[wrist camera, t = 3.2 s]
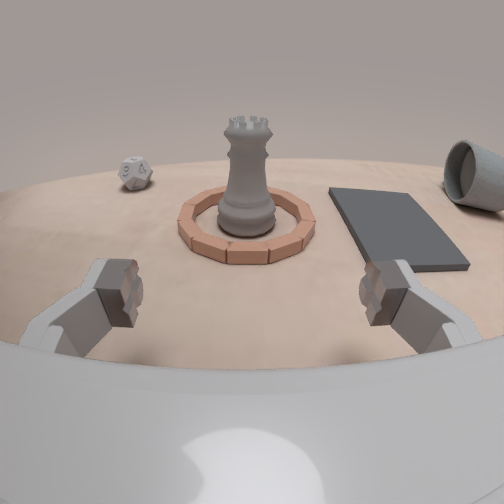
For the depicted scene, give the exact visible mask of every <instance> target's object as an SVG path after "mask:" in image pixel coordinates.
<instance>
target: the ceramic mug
mask: <svg viewBox="0 0 504 504" xmlns="http://www.w3.org/2000/svg"><path fill="white" fill-rule="evenodd" d="M444 186H445V191H446V193H447V195H448V197H449V199H450V200H451V201H453V202H454V203H457V204H462V205H466V206H470V207H475V208H480V209H484V210H487V211H502V210H504V158H503V157H501V156H499V155H497V154H495V153H493V152H490V151H489V150H487V149H484V148H483V147H480V146H478V145H476V144H474V143H472V142H470V141H467V140H461V141H459V142H457V143H456V144H455V145H454V146H453V147H452V149H451V150H450V152H449V154H448V157H447V160H446V163H445V169H444Z"/></svg>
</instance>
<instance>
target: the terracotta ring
mask: <svg viewBox="0 0 504 504" xmlns="http://www.w3.org/2000/svg"><path fill="white" fill-rule="evenodd" d="M226 188H227V186H224V187H219V188H215V189H211V190H206V191H204V192H201V193H199V194H198V195H196V196H195V197H193V198H191V199H190V200H188V201H187V202H185V203H184V204H183V206H182V208H181V211H180V214H179V217H178V220H177V222H178V230H179V234H180V235H181V237H182V238H183V239H184V241H185V242H186V243H187V245H188V246H189V248H190V249H191V250H193V252H196V253H198V254H201V255H204V256H206V257H209V258H212V259H214V260H217V261H220V262H222V263H226V262H227V263H228V264H267V263H268V262H269V263H273V262H276V261H278V260H281V259H283V258H286V257H289V256H291V255H294V254H297V253H299V252H301V251H302V250H303V249H304V247H305V246H306V245H307V243H308V242H309V240H310V239H311V237H312V236H313V234H314V229H315V223H316V220H315V218H314V216H313V213H312V211H311V208H310V206H309V205H308V204H307V203H305V202H304V201H302V200H301V199H299V198H297V197H296V196H294V195H293V194H291V193H288V192H286V191H282V190H278V189H274V188H270V187H267V190H268V191H269V192H270V195H271V198H272V200H273V201H274V204H275V205H278V206H281V207H282V208H284V209H285V210H287V211H288V212H290V213H291V214H293V215H294V216H295V217H296V218H297V222H298V225H297V226H296V228H295V229H294V230H293V231H292V232H291V233H290V234H287V235H284V236H281V237H277V238H274V239H271V240H268V241H265V242H230V241H227V240H224V239H221V238H218V237H215V236H212V235H209V234H206V233H203V232H202V231H201V229H200V228H199V227H198V226H197V225H196V224H195V223H194V222H195V218H196V216H197V215H198V214H200V213H201V212H203V211H204V210H205V209H207V208H208V207H210V206H211V205H215V204H219V201H220V200H221V199H222V198H223V193H224V191H225V190H226Z"/></svg>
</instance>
